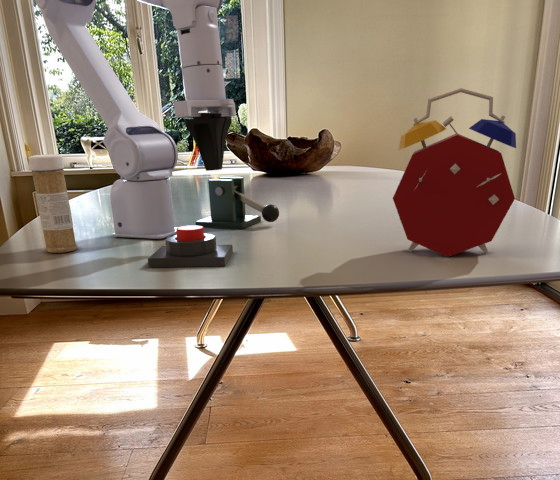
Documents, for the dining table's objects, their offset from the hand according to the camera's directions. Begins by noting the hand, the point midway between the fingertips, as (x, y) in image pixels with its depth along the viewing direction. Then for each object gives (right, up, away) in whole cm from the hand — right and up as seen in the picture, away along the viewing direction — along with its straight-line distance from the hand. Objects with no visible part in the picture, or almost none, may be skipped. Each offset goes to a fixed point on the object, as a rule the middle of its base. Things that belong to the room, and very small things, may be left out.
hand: (214, 170), depth 88 cm
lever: (+4, -1, +16) cm, 16 cm away
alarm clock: (+32, -14, -9) cm, 36 cm away
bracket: (+1, -4, +18) cm, 18 cm away
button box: (-2, -15, -8) cm, 17 cm away
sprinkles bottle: (-23, -12, +1) cm, 26 cm away
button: (-2, -12, -9) cm, 15 cm away
